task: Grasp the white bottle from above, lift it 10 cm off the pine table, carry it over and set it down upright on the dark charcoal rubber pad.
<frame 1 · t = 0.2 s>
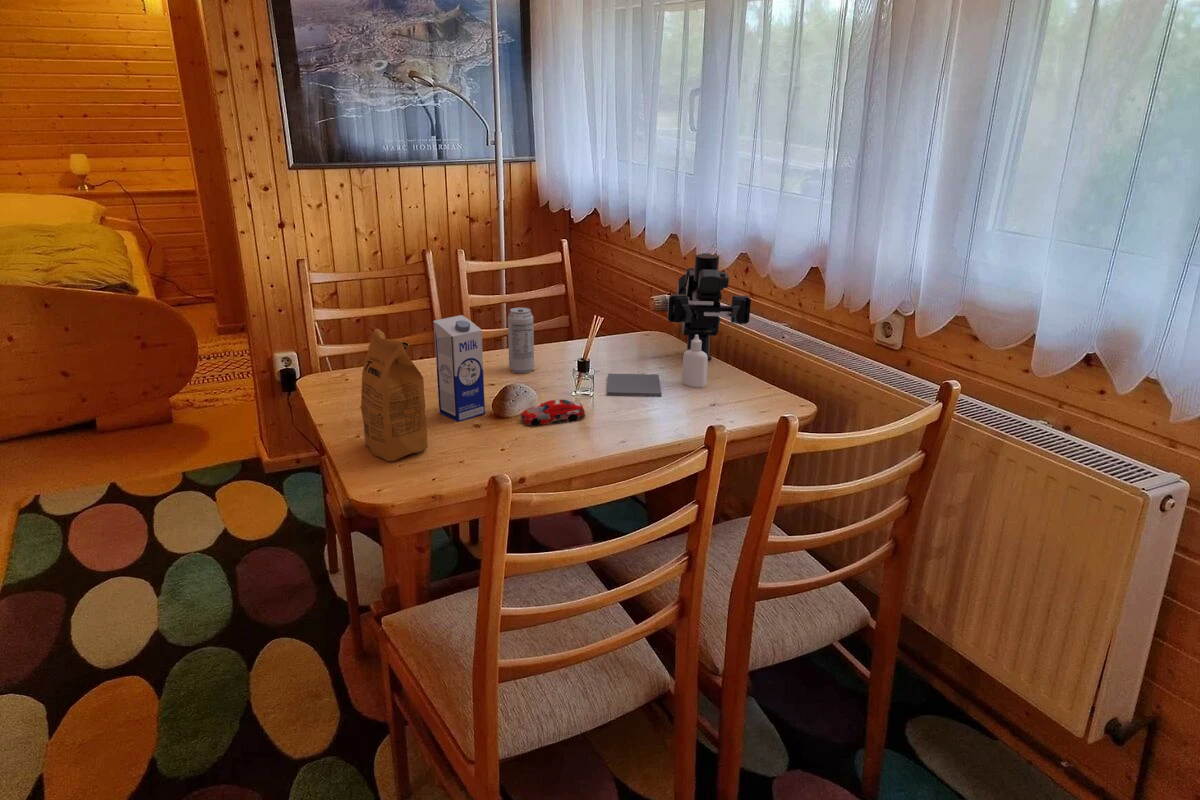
hand: (712, 319, 171), 17 cm above the table, tool horizontal, fingers open, 9 cm apart
charcoal pad: (633, 386, 178), on the table
white bottle: (693, 385, 180), on the table
milk carton: (462, 414, 161), on the table
coffee package: (395, 449, 144), on the table
race car: (552, 421, 159), on the table
energy drink can: (521, 371, 188), on the table
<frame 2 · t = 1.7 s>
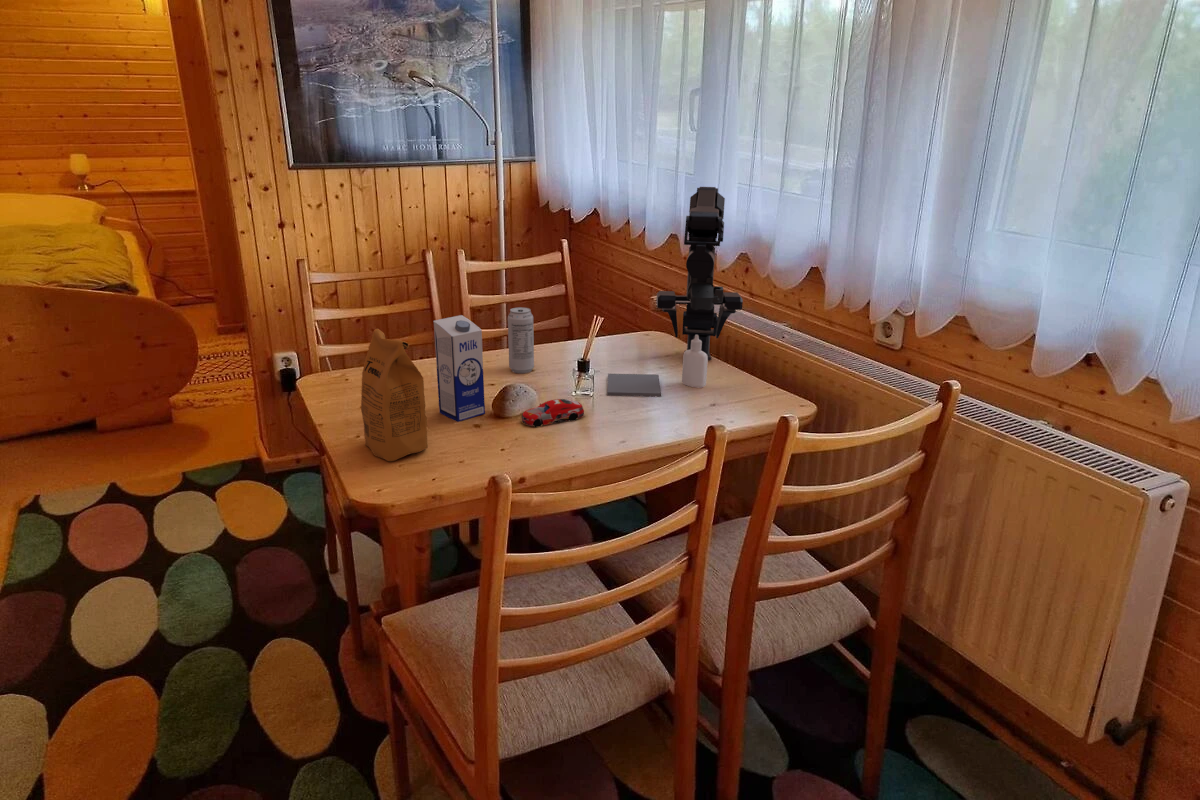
hand: (696, 337, 176), 11 cm above the table, tool pointing down, fingers open, 9 cm apart
nothing on the table moved.
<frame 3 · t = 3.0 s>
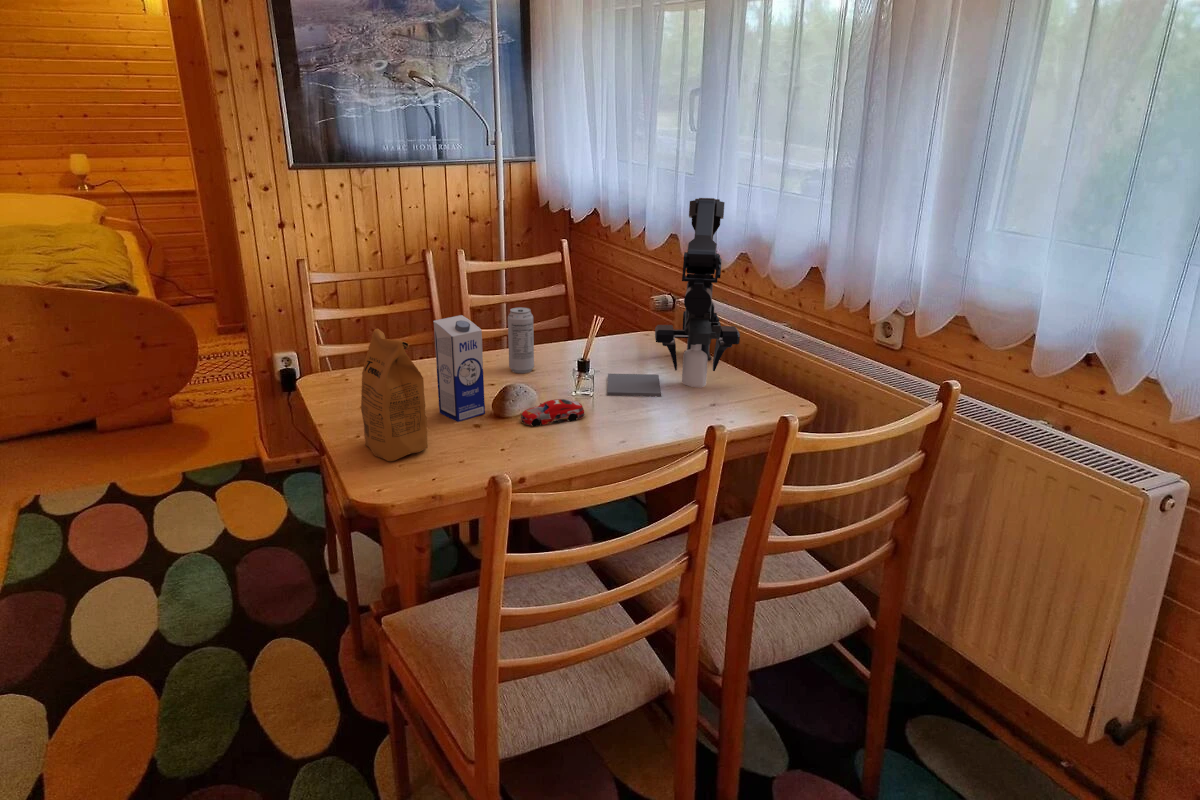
hand: (694, 370, 179), 4 cm above the table, tool pointing down, fingers closed on white bottle, 8 cm apart
white bottle: (693, 385, 180), on the table, touching gripper
everything else where it was.
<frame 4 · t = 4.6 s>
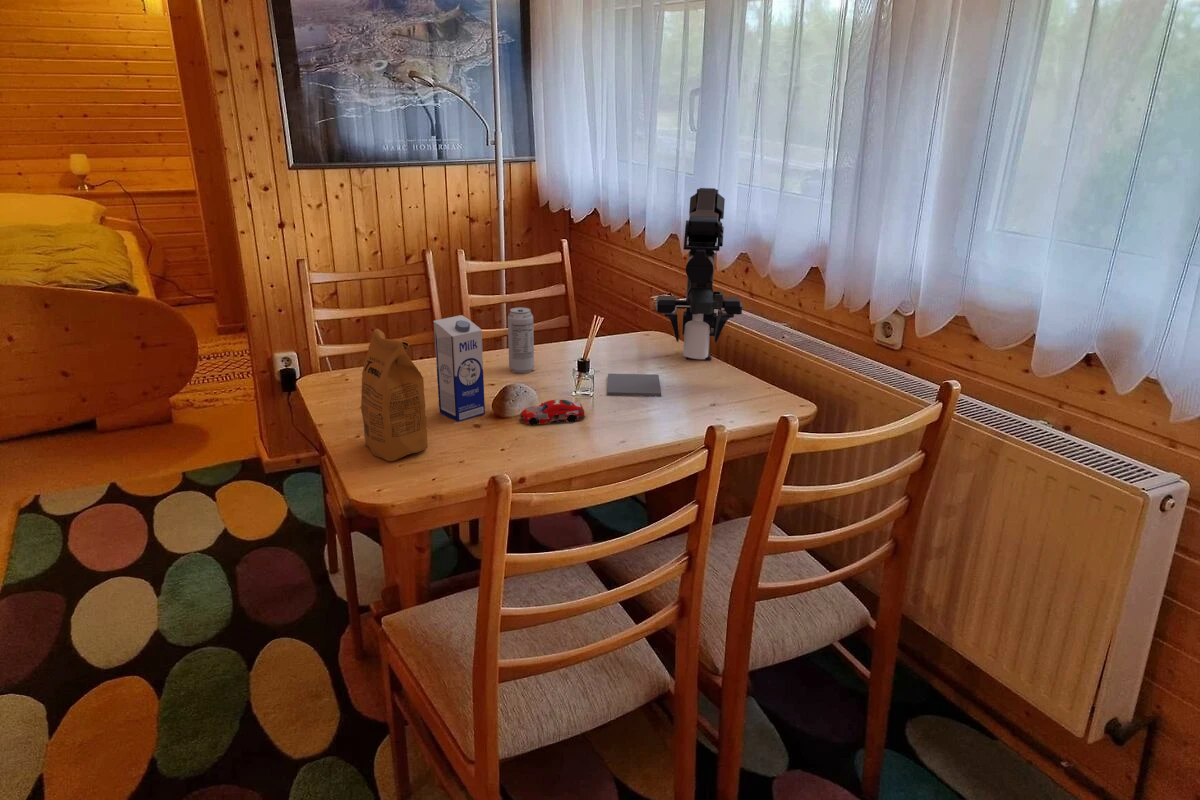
hand: (696, 341, 176), 10 cm above the table, tool pointing down, fingers closed on white bottle, 8 cm apart
white bottle: (695, 357, 177), point 7 cm above the table, touching gripper
everything else where it was.
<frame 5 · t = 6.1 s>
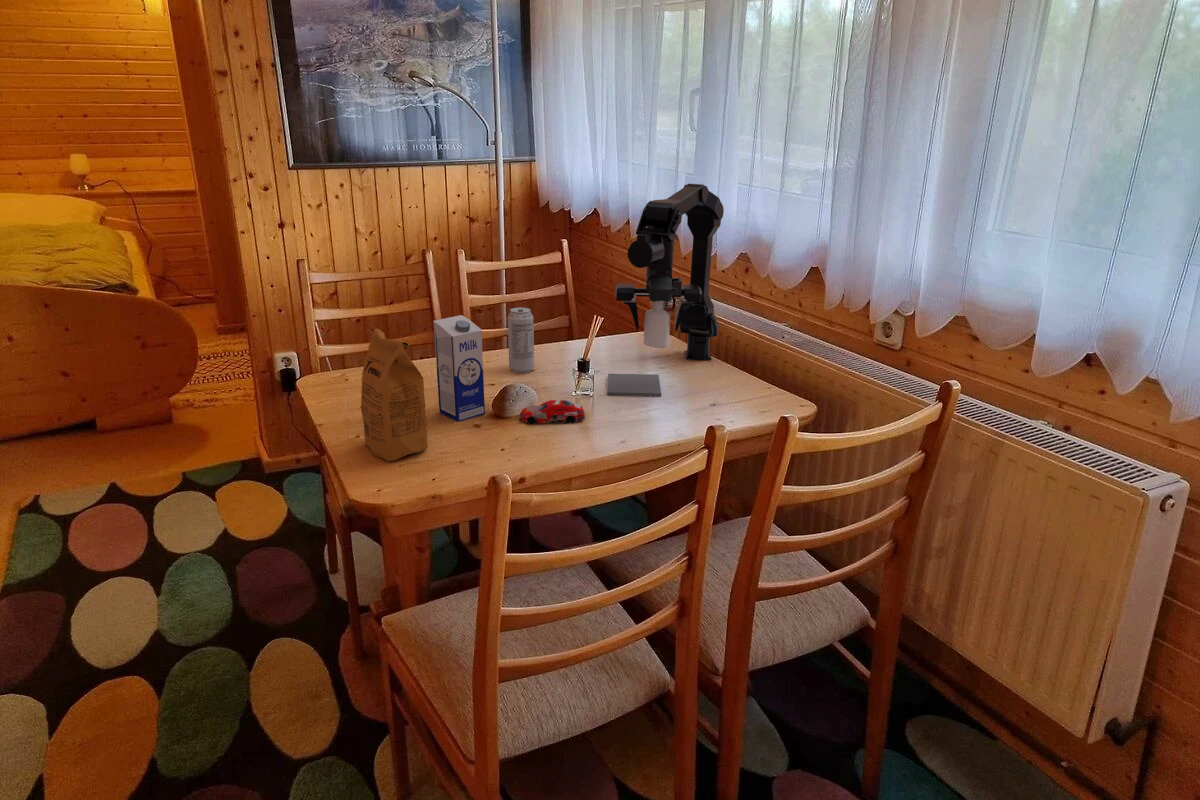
hand: (656, 330, 174), 13 cm above the table, tool pointing down, fingers closed on white bottle, 8 cm apart
white bottle: (656, 346, 175), point 10 cm above the table, touching gripper
everything else where it was.
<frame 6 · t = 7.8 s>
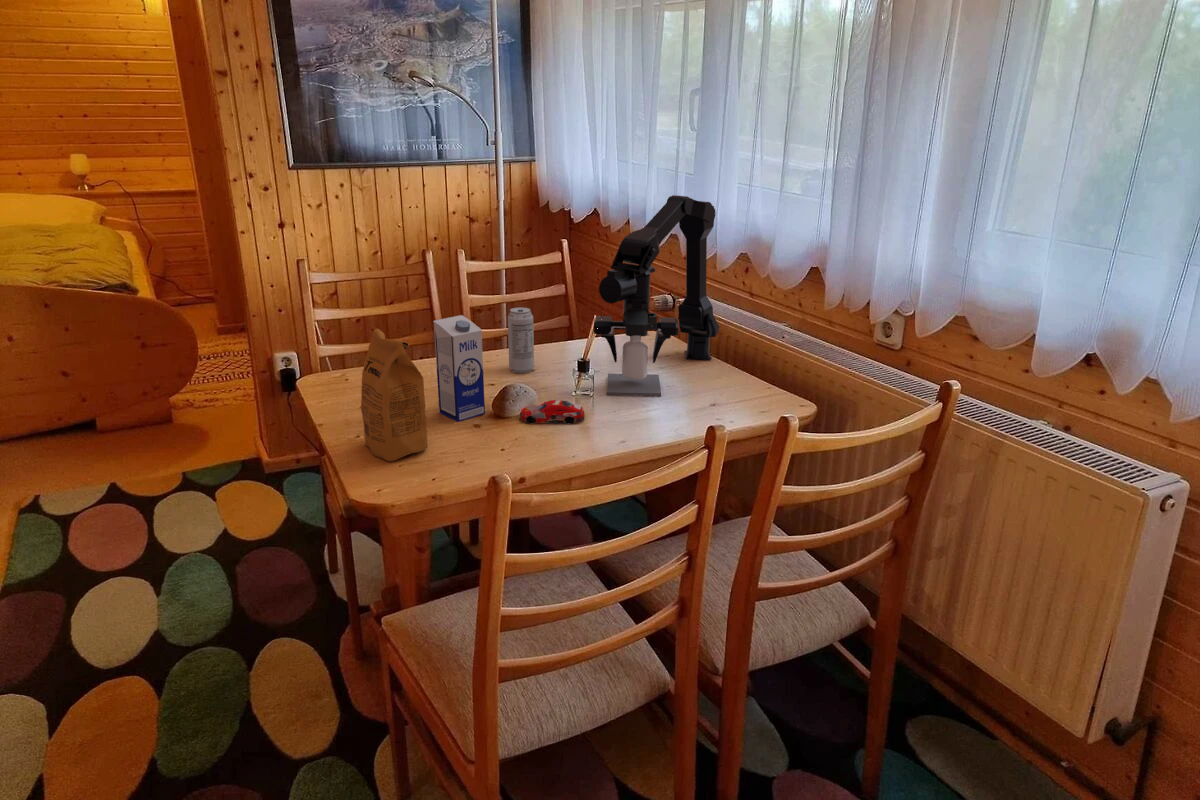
hand: (634, 362, 176), 6 cm above the table, tool pointing down, fingers closed on white bottle, 8 cm apart
white bottle: (634, 377, 178), point 2 cm above the table, touching gripper
when the fingers open (6 cm above the table, at t = 9.1 s): white bottle drops 1 cm, resting on charcoal pad.
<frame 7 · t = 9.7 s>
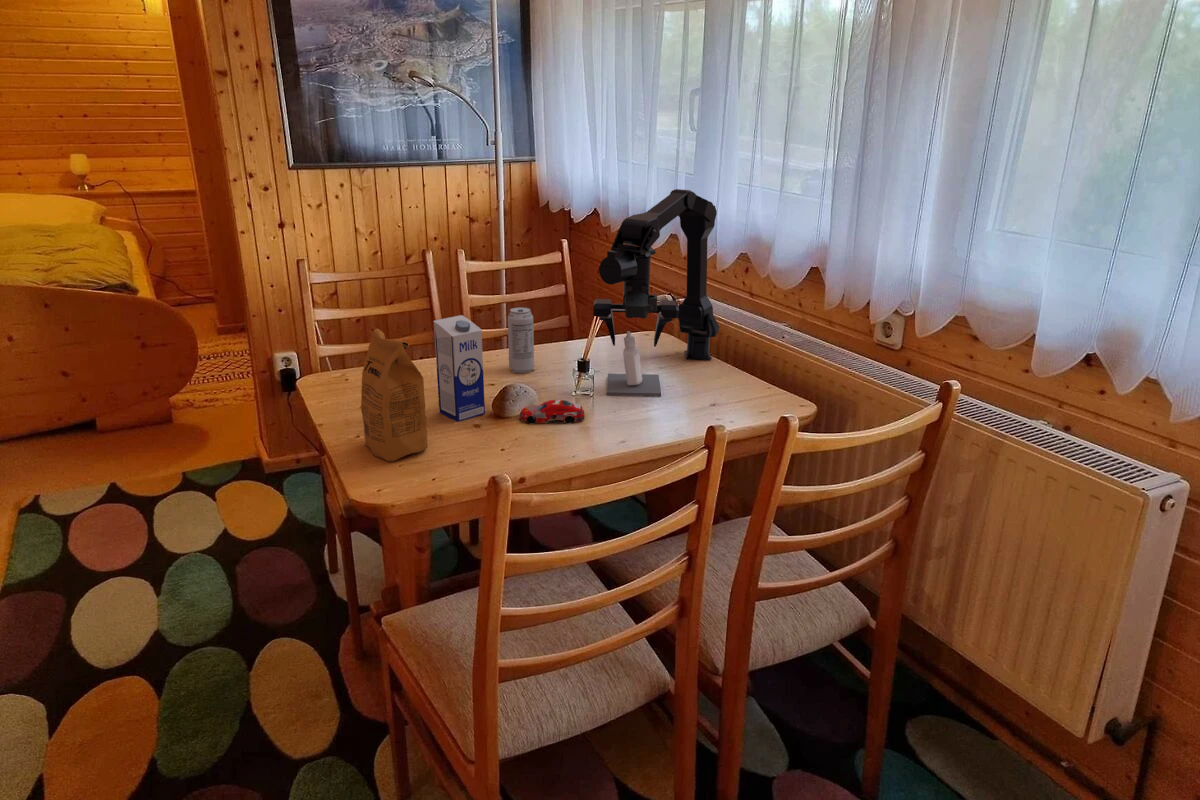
hand: (634, 345, 175), 10 cm above the table, tool pointing down, fingers open, 9 cm apart
white bottle: (634, 383, 178), point 1 cm above the table, touching charcoal pad
everything else where it was.
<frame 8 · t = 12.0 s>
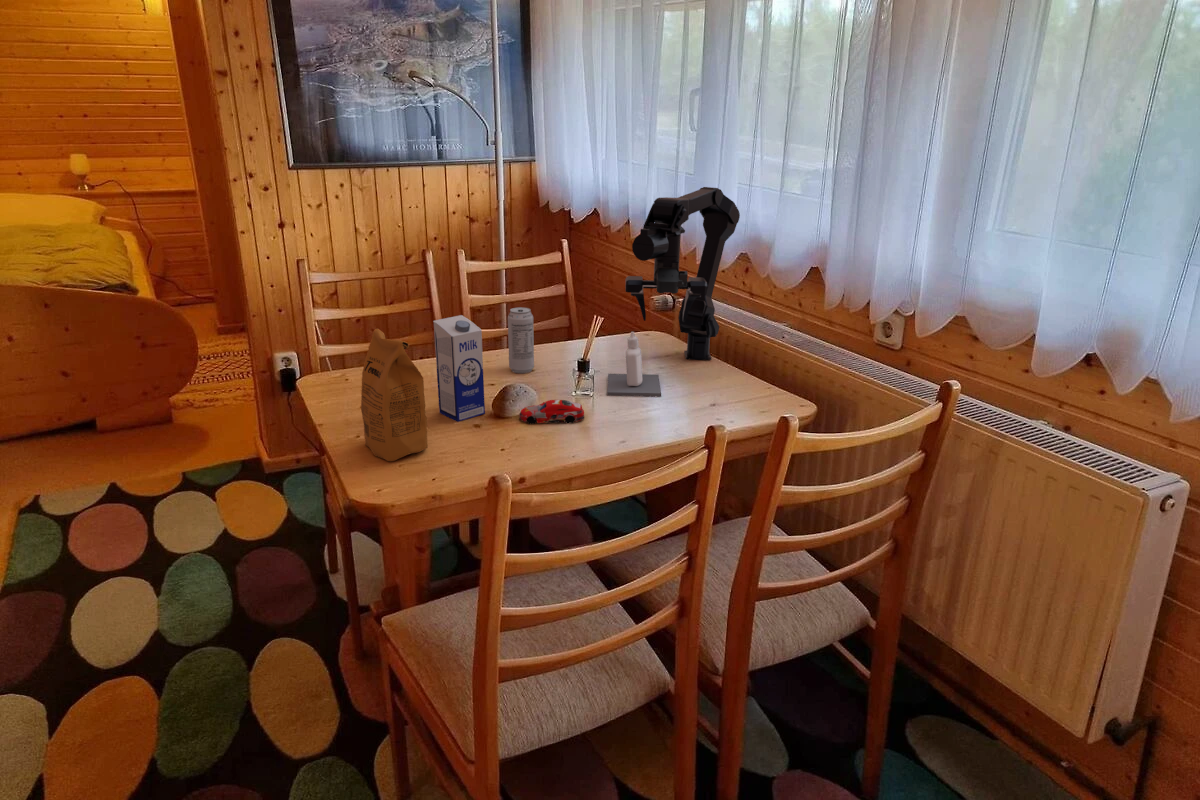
hand: (664, 320, 183), 13 cm above the table, tool pointing down, fingers open, 9 cm apart
nothing on the table moved.
at the end: white bottle inside the target area on the charcoal pad (0.4 cm from its centre), point 0.7 cm above the charcoal pad's base; white bottle tilted 4°; the gripper is holding nothing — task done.
